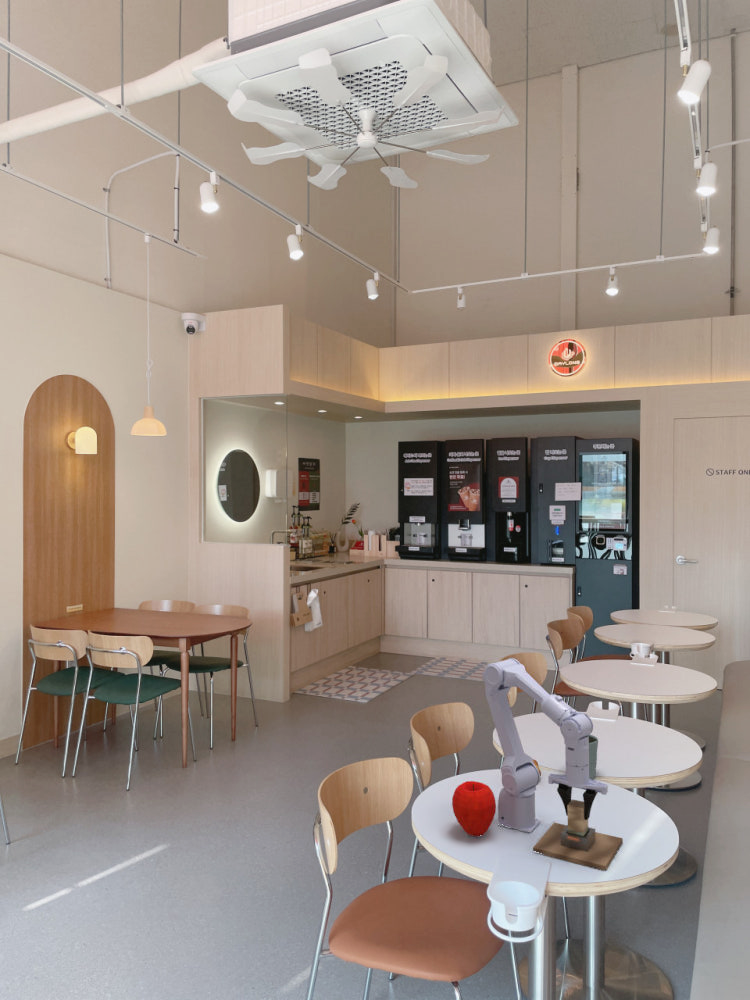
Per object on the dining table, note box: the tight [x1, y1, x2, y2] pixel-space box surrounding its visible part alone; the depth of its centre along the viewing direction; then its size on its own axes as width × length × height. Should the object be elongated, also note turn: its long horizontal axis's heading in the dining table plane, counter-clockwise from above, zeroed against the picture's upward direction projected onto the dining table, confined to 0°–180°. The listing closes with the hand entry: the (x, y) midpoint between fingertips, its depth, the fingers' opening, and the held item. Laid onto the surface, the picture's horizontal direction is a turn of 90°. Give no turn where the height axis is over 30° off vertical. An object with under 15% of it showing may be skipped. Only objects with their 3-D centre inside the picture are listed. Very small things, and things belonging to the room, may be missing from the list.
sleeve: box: [561, 824, 596, 852], centre depth 190 cm, size 7×7×3 cm
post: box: [567, 798, 590, 836], centre depth 190 cm, size 4×4×7 cm
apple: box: [451, 780, 497, 837], centre depth 199 cm, size 12×12×13 cm
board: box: [532, 822, 624, 872], centre depth 190 cm, size 18×16×1 cm
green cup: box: [586, 734, 599, 781], centre depth 236 cm, size 10×10×12 cm
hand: (577, 816), depth 190 cm, fingers closed on post, 4 cm apart
